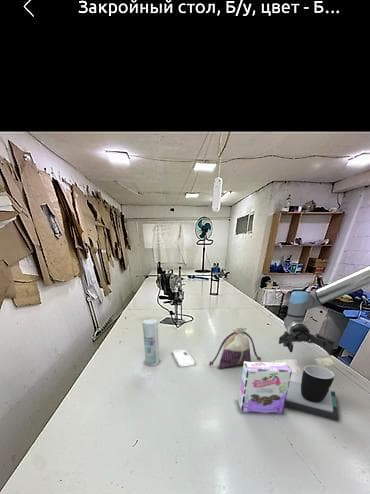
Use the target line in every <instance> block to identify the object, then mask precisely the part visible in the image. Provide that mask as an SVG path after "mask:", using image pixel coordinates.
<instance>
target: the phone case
mask: <svg viewBox="0 0 370 494" xmlns="http://www.w3.org/2000/svg"><path fill="white" fill-rule="evenodd" d="M185 354H186V355H185ZM172 355H173V357H174V359H175V361H176V363H177V365H178V366H179V368H181V367H189V366H195V365H196V363H195V360H194V358H193V357H192V356H191V354H190V352H189V351H188V349H177V350H172Z"/></svg>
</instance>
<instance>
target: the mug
mask: <svg viewBox="0 0 370 494" xmlns="http://www.w3.org/2000/svg"><path fill="white" fill-rule="evenodd" d="M334 378H335V373H334V372H333V371H332V370H331V369H330V368H329V369H328V368H327V367H324V366H320V365H315V364H313V365H312V364H310V365H306V366H304V368H303V370H302V375H301V382H300V383H301V394H302V396H303V398H305V399H306V400H308V401H310V402H321V401H322V400H323V399H324V398H325V397H326V395H327V393H328V391H329V390H331V387H332V385H333V382H334Z"/></svg>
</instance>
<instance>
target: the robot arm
mask: <svg viewBox="0 0 370 494" xmlns="http://www.w3.org/2000/svg"><path fill="white" fill-rule="evenodd" d="M369 286H370V264H369V265H367V266H366V267H363V268H361V269H358V270H356V271H355V272H352V273H349V274H348V275H346V276H343V277H341V278H339V279H337V280H335V281H333V282H331V283H328V284H326V285H324V286H321V287H320V288H317V289H315V290H313V291H310V292H307V291H303V290H294V291H292V292H291V294H290V298H289V300H288V301H289V302H288V306H287V307H288V308H287V314H286V317H285V318H284V320H283V326H284V328H285V330H286V331H284V333H283V334H282V335H281V336H279V337H278V338H279V339H278V344H279V345H282V344H283V345H282V346H283V347H286V348H287V349H288V351H289V353H293V350H294V344H293V343H302V342H304V343H308V344H314V345H317V346H320V347H322V348H323V349H324V351H325V352H326V353H327V354H328V355H329V356H331V357H332V356H333V354H334V350H335V349H334V346H335V343H336V342H335V341H334V340H332V339H330V338H327V337H325V336H323V335H321V334H320V333H315V334H312V333H310V330H309V328H308V327H307V326H306V325H305V323H304V319H305V314H306V311H308V310H311V309H315V308H317V307H320V306H321V305H323V304H326V303H329V302H331V301H333V300H336V299H338V298H341V297H344V296H346V295H349V294H351V293H353V292H356V291H358V290H361V289H364V288H366V287H369Z"/></svg>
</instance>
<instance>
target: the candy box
mask: <svg viewBox="0 0 370 494" xmlns="http://www.w3.org/2000/svg"><path fill="white" fill-rule="evenodd" d="M242 365H243V366H242V371H241V378H240V387H239V392H238V399H237V402H238V405H239V410H240V413H249V414H250V413H252V414H257V413H258V414H283V413H284V409H285V407H284V405H285V400H286V396H287V391H288V387H289V382H290V381H291V377H292V373H293V370H292V369H291V367H289V365H288V364H287V362H270V361H269V362H268V361H266V362H265V361H251V362H247V361H244V364H242Z"/></svg>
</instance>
